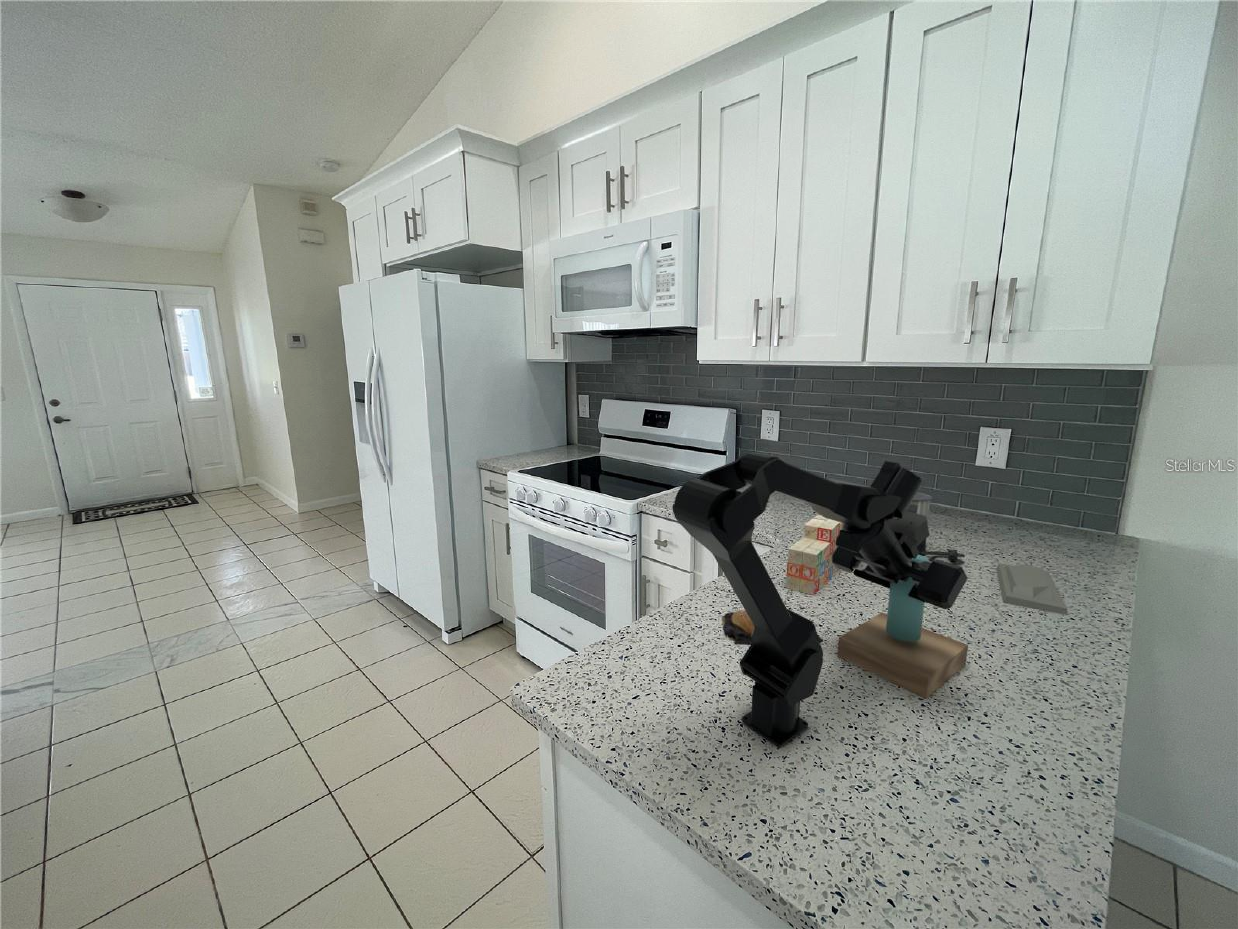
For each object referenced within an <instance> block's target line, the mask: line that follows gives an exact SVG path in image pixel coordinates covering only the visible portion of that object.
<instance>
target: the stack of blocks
mask: <svg viewBox="0 0 1238 929" xmlns="http://www.w3.org/2000/svg"><path fill="white" fill-rule="evenodd" d="M842 525H843V523H841V522H838V521H834V520H831V519H827V518H825V517H823V516H821V515H820V514H816V515H815V516H814V517H813V518H812V519H810V520H809V521H807V522H806V523H805V524H804V526H803V537H802V538H801V539H800V540H798V541H797V542H795V543H794V544H793V545H792V546H790V547H789V548H788V553H787V563H786V576H785V577H786V578H785V582H786V583H785V587H786V589H790V590H792V591H793V590H794V591H796V592H800V593H804V594H808V595H811V596H812V595H813V596H814V595H815V594H816V593H817V592H818V591H820V590H821V589H822V588H823V586H825V585H826V584H827V583H828V582H829V581H830V579H831V578H832V577H833V576H835V574H836V573H838V572H839V571H840V570H841V569H838V568H836V567H835V565H834V564H833V563H832V554H833V552H834V550H835V549H836V547H837V546H836V544H835V543H836V538H837V537H838V535H839V532H840V530H842Z"/></svg>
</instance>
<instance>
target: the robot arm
mask: <svg viewBox="0 0 1238 929" xmlns="http://www.w3.org/2000/svg"><path fill="white" fill-rule="evenodd" d="M746 486H748V487H747V488H746V489H745V490H743V491H742V492H741V491H740V490H741V489H743V488H745V487H746ZM922 486H923V480H922V479H921V477H920V476H917V475H916V474H915V473H913V472H912V471H911V470H909V469H907V468H905V467H902V466H901V464H900V463H899V462H896V461H890V460H885V461H884V462H883V463H882V466H881V468H880V470H879V471H878V473H877V475H876V477H875V478H874V480H873V481H872V483H871V485H870V486H868V485H864V484H858V483H854V482H850V481H846V480H840V479H836V478H826V477H822V476H820V475H818V474H815V473H813V472H810V471H807V470H806V469H803V468H800V467H797V466H795V465H792V464H790V463H787V462H785V461H783V460H782V459H780V458H779V457H778V456H774V455H768V454H764V453H759V452H753V451H750V452H748V453H747V452H746V453H744V454H742V455H740V456H739V457H738V458H736V459H735V460H733V461H732V462H730V463H726V464H724V465H722V466H721V465H720V466H719V467H716V468H713V469H711V470H708V471H706V472H703V473H702V474H701V475H700V476H699V475H698V477H697V478H693V479H691V480H688V481H686V482H685V483H684V484H682V485H681V487H680V488H679V490H678V491H677V493H676V496H675V498H674V502H673V504H672V506H671V507H672V513H673V515H674V518H675V520H676V521H677V522H678V523H679V524H680V525H681V526H682V528H684V530H685V531H686V532H687V533H688V534H689V536H691V537H692V538H694V539H695V540H696V541H697V542H699V543H700V545H702V547H705V548H706V549H707V550H708V551H709V552H710V553H711V554H712V556H713V557H714V559H715V561H716V562H717V565H718V567H719V568H720V569H721V571H722V572H723V575H724V576H725V577H726V579H727V581H728V583H729V585H730V587H731V588H732V590H733V592H734V593H735V595H736V597H737V598H738V600H739V602H740V604H741V605H742V607H743V609H744V610H745V611H746V612H747V614H748V616H749V617H750V619H751V621H752V623H753V624H754V629H753V632H752V635H751V637H752V641H753V642H752V644H751V645H749V647H748V649H747V650H746V651H745V653H744V654H743V656H742V658H741V659H740V661H739V668H740V671H741V673H742V674H743V675H744V676H747V677H748V678H749V679H751V680H752V681H754V685H752V690H751V710H750V711H749V712H748V713H746V714H745V715H743V716H742V717H741V722H742V723H743V724H745V725H746V726H748V727H749V728H750V729H752V730H754V731H755V732H756V733H758V734H759V735H761V737H763V738H765V739H766V740H768V741H770V742H771V743H772V744H773V745H775V746H777V747H779V748H780V747H781V748H782V747H783V746H785V745H786V744H788V743H789V742H791V741H792V740H793V739H795V738H796V737H797V736H798V735H800V734H802V733H803V732H805V731H806V730H807V729H808V728H809V722H807V721H806V720H805V719H803V718H801V717H800V716H799V715H800V708H801V702H802V701H804V700H806V699H808V698H810V697H812V696H813V695H814V694H815V691H816V688H817V685H818V680H819V677H820V675H821V672H822V668H823V664H824V651H823V650H824V649H823V648H822V645H821V644H823V642H824V639H823V638H821V637H820V636H819V635H818V631H817V628H816V625H815V624H814V623H813V621H812V620H811V619H808V618H806V617H805V616H802V615H800V614H798V613H797V612H795V611H794V610H793V611H792V610H790V609H789V608H787V606H786V604H785V603H784V600H783V599H782V597H781V595H780V593H779V591H778V589H777V586H775V584H774V582H773V579H772V578H771V576H770V574H769V572H768V571H767V568H766V566H765V564H764V563H763V560H762V559H761V557H760V555H759V553H758V551H757V550H756V547H755V546H754V545H755V544H753V541H752V537H753V532H754V529H755V520H756V519H757V518H758V517H760V516H761V515H762V514H763V513H764V512H765V511H766V509H767V505H768V502H769V500H770V498H771V495H772V494H774V493H777V494H780V495H783V496H786V497H789V498H791V499H794V500H798V501H800V502H803V503H806V504H807V505H809V506H811V510H813V511H814V512H816V513H817V515H819V514H820V515H821V516H823V517H825V518H827V519H831V520H834V521H838V522H841V523H843V525H842V530H840V532H839V535H838V537H837V538H836V543H835V544H836V546H837V547H836V549H835V550H834V552H833V554H832V563H833V564H834V565H835V567H836V568H838V569H840V570H841V571H843V572H845V573H848V574H851V573H853V575H854V576H855V577H857V578H860V579H861V580H862V579H863V580H865V581H867V582H870V583H873V584H876V585H879V586H881V587H884V588H887V589H888V590H890V582H892V583H895V584H897V583H898V581H899V580H900V581H903V582H907V580H908V578H909V577H910V578H913V579H912V581H913V582H914V583H915V584H914V586H913V587H912V589H911V591H910V592H909V594H908V596H909V597H912V598H914V599H917V600H919V601H922V602H925V603H926V604H930V605H932V606H934V607H937V608H939V609H943V610H948V609H951V608H952V607H953V605H954V604H955V602H956V600H957V598H958V597H959V595H960V593H961V592H962V589H963V587H964V586H965V584H966V583H967V581H968V579H969V578H968V575H967V574H966V571H965V570H964V568H963V567H962V566H960V565H957V564H954V563H951V562H947V561H944V560H941V559H935V560H932V561H929V562H927V561H924V562H922V563H917V562H913V561H911V559H912V558H914V559H916V557H917V555H918V554H919V551H918V550H917V548H916V547H917V546H918V545H919V544H920V543H921V542H922V541H923V540H924V539H925V538H926V539H927V538H929V537H930V530H929V526H928V525H929V522H928V523H927V518H926V517H925V516H924V515H920V514H916V513H912V512H908V511H906V510H907V509H908V507H909V505H910V504H911V502H912V501H913V499H914V497H915V496H916V494H917V492H918V493H919V491H920V489H921V488H922ZM919 569H920V570H919ZM925 603H924V604H925Z"/></svg>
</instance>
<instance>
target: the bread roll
mask: <svg viewBox="0 0 1238 929" xmlns="http://www.w3.org/2000/svg"><path fill="white" fill-rule="evenodd" d="M721 621H722V625H723V626H722V628H723V630H724V632H725V633H724V634H725V635H726V636H727V638H728V640H730V641H732V642H734V644H735V645H736V646H737V645H739V646H741V645H744V646H750V645H751V644H752V642H753V641H752V637H751V635H752V632H753V629H754V624H753V623H752V621H751V619H750V617H749V616H748V614H747V612H746V611H745V609H744V610H742V609H740V610H737V611H734V612H732V611H730V612H727V613H725V615H722V616H721Z"/></svg>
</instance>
